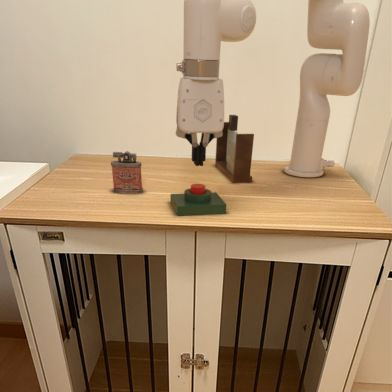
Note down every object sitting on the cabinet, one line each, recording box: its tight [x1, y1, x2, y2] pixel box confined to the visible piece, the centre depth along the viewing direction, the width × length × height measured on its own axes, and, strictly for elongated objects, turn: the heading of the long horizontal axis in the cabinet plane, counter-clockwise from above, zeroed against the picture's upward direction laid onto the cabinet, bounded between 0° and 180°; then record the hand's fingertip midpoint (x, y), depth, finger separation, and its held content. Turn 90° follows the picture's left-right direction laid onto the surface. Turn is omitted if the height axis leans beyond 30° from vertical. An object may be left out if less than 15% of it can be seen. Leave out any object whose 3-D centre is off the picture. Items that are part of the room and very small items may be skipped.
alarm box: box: [170, 187, 227, 217], centre depth 101 cm, size 12×10×4 cm
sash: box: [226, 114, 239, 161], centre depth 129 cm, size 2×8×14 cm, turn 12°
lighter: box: [110, 150, 144, 194], centre depth 109 cm, size 8×3×10 cm, turn 88°
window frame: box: [214, 121, 255, 184], centre depth 127 cm, size 6×22×13 cm, turn 12°
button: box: [190, 183, 206, 194], centre depth 100 cm, size 4×4×2 cm
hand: (198, 164), depth 96 cm, fingers closed
